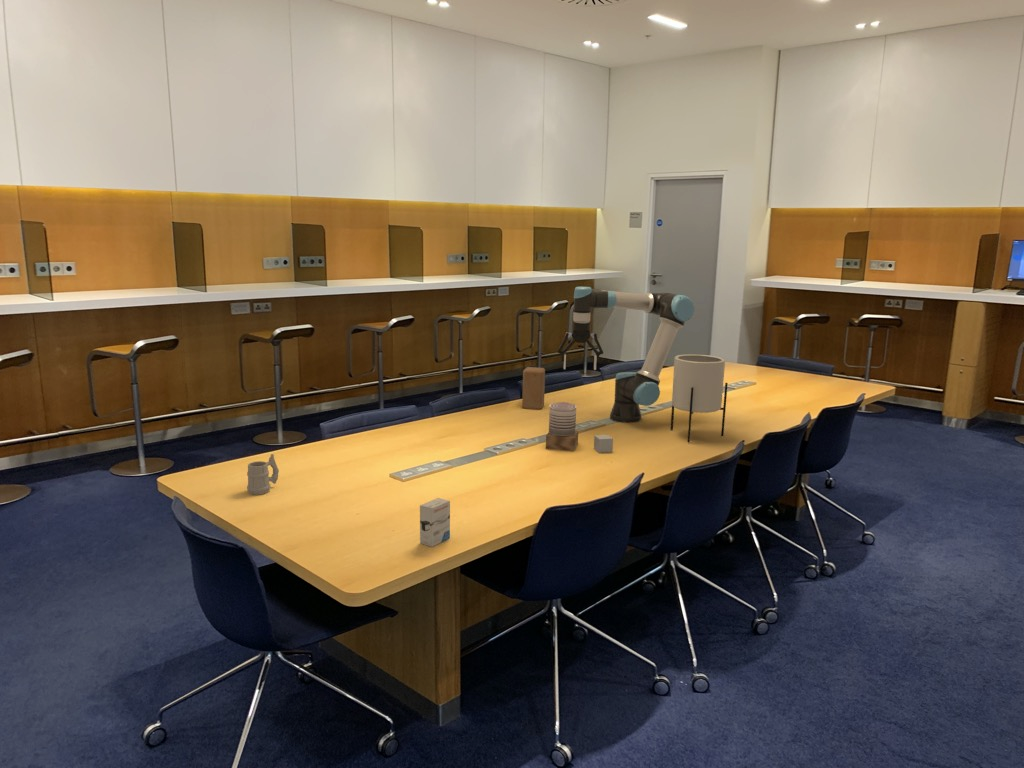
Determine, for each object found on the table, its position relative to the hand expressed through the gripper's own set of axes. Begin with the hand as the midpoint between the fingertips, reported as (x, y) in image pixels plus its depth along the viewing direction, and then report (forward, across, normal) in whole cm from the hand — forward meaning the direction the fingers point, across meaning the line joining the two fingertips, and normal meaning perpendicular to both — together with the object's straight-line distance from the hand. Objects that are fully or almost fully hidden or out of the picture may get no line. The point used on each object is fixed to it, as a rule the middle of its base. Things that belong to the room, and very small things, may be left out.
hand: (579, 369), depth 342 cm
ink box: (+29, +49, +128) cm, 140 cm away
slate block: (+29, -9, +30) cm, 43 cm away
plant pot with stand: (+29, -52, +4) cm, 60 cm away
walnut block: (+29, +8, +25) cm, 39 cm away
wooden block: (+29, +20, -45) cm, 57 cm away
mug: (+29, +113, +89) cm, 147 cm away
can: (+23, +8, +25) cm, 35 cm away
